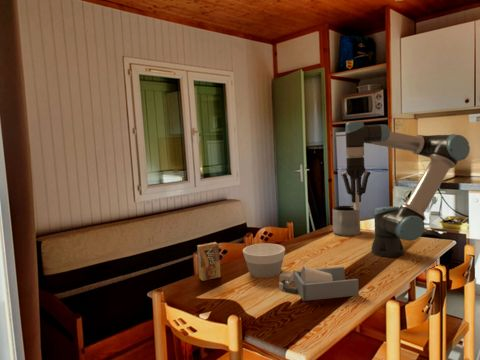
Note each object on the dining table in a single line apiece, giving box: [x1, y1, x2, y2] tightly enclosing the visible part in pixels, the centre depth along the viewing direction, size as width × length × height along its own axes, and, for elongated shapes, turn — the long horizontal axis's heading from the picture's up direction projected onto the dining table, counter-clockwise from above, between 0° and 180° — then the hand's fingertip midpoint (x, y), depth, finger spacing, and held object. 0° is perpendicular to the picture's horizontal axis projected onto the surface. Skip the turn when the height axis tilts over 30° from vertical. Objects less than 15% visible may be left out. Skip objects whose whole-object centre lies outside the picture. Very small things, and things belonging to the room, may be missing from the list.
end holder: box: [292, 266, 360, 302], centre depth 151 cm, size 21×15×6 cm
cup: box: [301, 265, 333, 284], centre depth 152 cm, size 10×10×11 cm
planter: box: [332, 205, 361, 237], centre depth 234 cm, size 16×16×16 cm
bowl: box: [242, 243, 286, 279], centre depth 175 cm, size 19×19×11 cm
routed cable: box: [281, 280, 298, 294], centre depth 156 cm, size 5×13×1 cm, turn 6°
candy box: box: [196, 241, 221, 281], centre depth 171 cm, size 9×4×15 cm, turn 116°
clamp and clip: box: [278, 271, 293, 291], centre depth 160 cm, size 8×12×3 cm, turn 6°
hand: (356, 209), depth 173 cm, fingers closed
